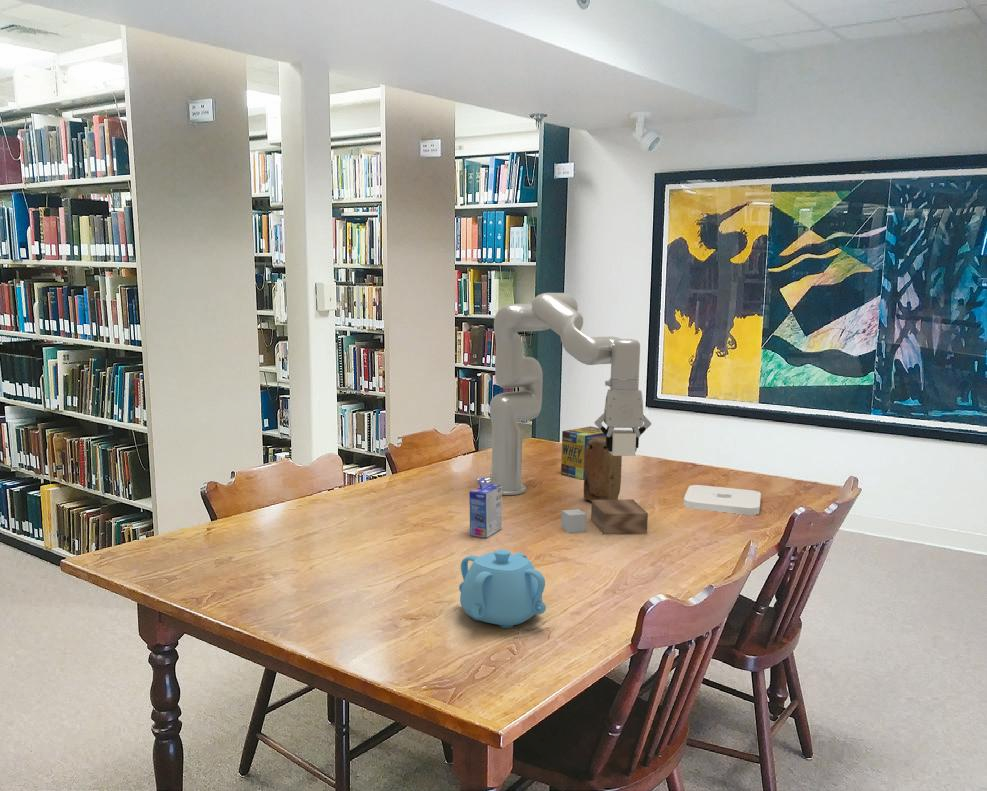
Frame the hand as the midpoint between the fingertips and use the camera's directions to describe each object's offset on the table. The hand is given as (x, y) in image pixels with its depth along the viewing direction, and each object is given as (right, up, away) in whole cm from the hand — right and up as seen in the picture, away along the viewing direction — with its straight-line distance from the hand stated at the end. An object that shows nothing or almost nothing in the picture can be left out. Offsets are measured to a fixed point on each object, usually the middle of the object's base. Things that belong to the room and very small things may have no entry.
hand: (621, 450), depth 224 cm
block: (-2, -18, +28) cm, 33 cm away
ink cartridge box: (-37, -22, -4) cm, 43 cm away
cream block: (0, -1, 0) cm, 1 cm away
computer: (+36, -19, +30) cm, 50 cm away
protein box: (-3, -13, +64) cm, 65 cm away
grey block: (-13, -22, -1) cm, 25 cm away
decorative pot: (-33, -30, -59) cm, 74 cm away
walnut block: (-1, -22, +3) cm, 22 cm away
